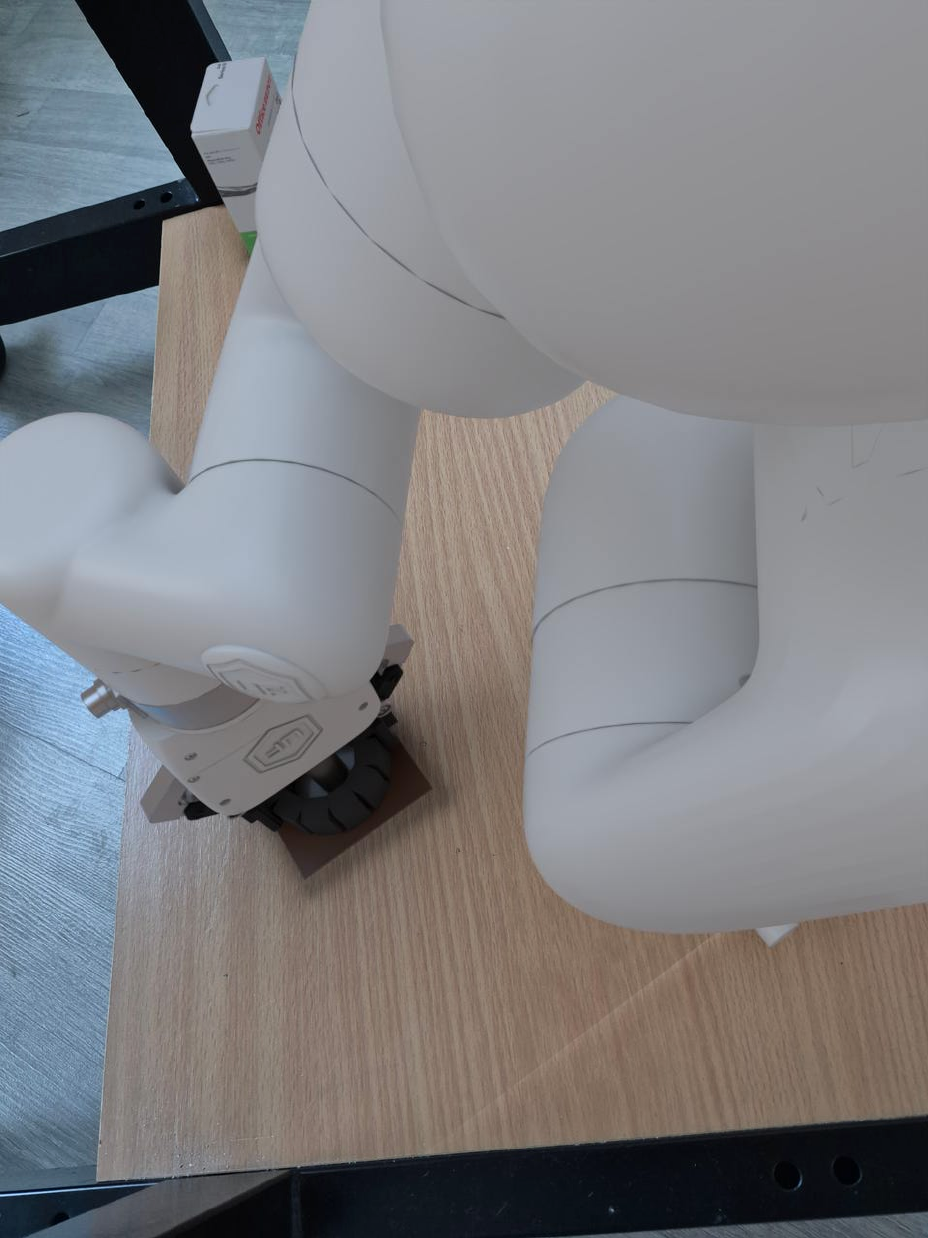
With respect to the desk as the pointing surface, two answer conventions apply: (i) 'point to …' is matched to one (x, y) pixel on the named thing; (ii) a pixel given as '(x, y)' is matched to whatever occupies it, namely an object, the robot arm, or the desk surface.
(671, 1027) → the desk surface
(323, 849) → the peg stand
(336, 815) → the black gear
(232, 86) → the ink box
